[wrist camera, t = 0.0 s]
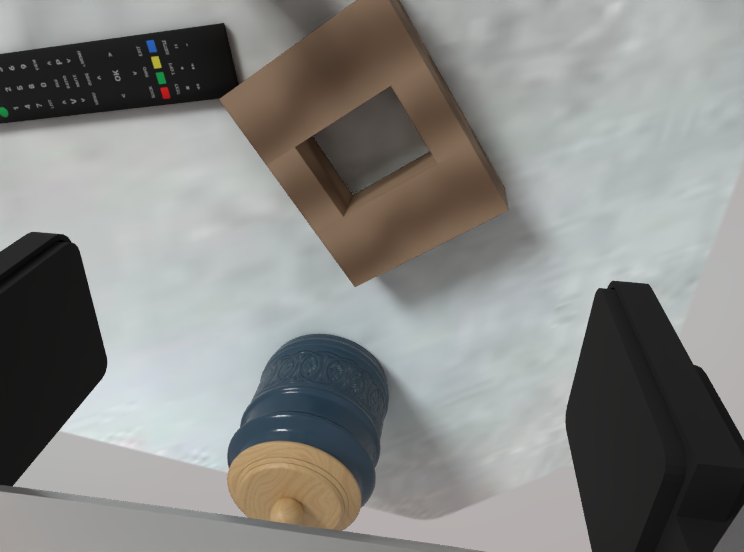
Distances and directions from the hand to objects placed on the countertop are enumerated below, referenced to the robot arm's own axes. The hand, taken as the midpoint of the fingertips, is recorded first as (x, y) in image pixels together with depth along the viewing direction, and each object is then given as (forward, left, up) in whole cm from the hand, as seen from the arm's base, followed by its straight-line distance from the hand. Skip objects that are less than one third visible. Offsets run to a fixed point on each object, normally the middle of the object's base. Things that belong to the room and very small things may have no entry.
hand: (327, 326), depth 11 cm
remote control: (-12, -25, -38) cm, 47 cm away
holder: (+4, -8, -37) cm, 38 cm away
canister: (+23, -26, -38) cm, 51 cm away
